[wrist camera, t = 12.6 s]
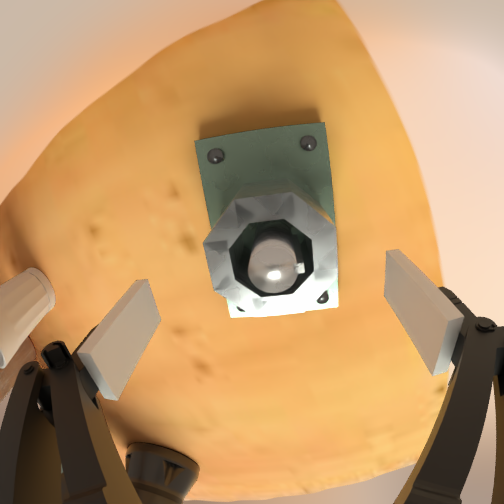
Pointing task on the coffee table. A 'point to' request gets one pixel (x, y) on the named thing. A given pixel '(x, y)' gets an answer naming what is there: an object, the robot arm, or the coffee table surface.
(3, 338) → the cup
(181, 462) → the robot arm
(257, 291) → the ring
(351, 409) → the coffee table surface
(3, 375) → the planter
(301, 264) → the shaft stand
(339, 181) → the coffee table surface
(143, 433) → the coffee table surface
